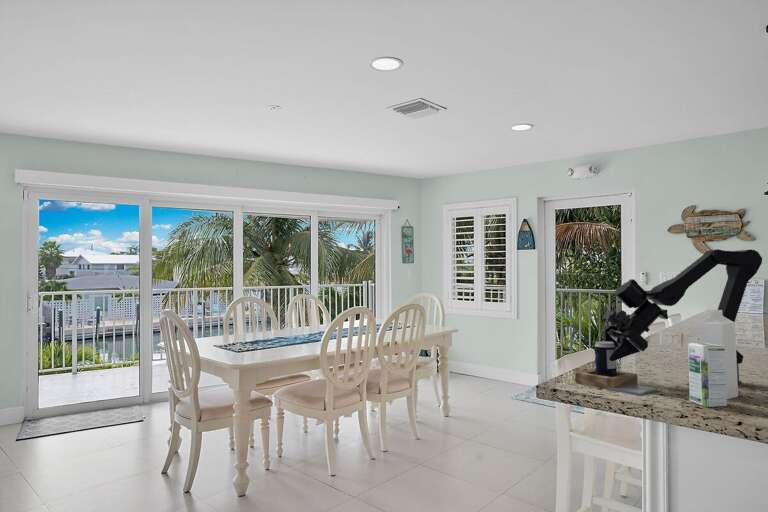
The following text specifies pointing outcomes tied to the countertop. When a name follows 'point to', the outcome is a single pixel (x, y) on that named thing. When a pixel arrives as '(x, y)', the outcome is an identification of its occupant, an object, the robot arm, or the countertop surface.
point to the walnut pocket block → (605, 379)
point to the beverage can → (604, 359)
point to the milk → (722, 334)
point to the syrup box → (707, 374)
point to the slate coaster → (633, 389)
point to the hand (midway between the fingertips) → (603, 357)
